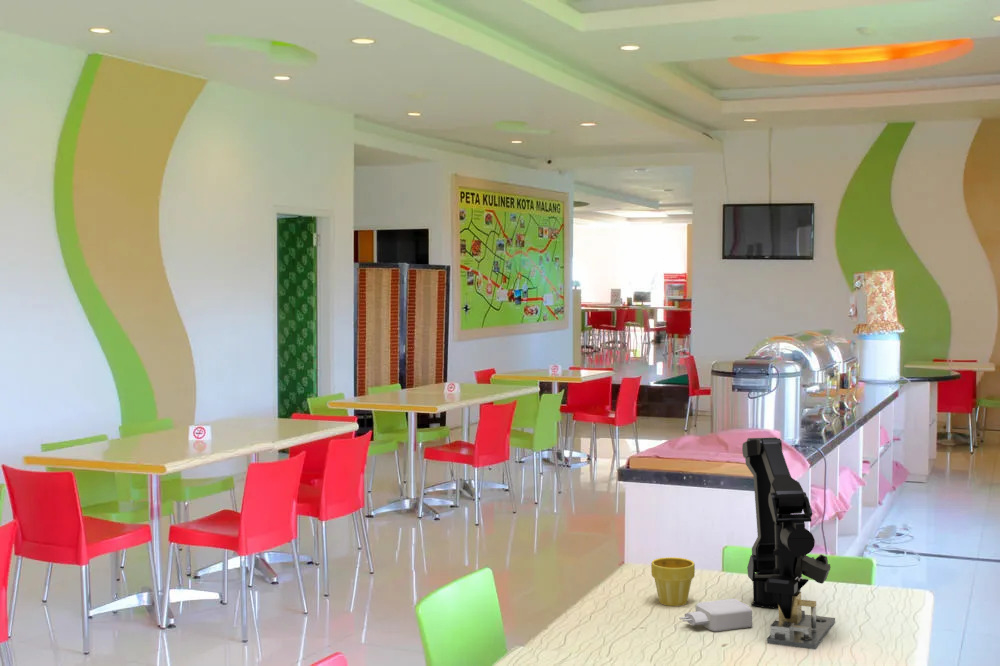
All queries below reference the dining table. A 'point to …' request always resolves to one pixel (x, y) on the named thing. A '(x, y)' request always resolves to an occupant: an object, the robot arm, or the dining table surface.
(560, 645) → the dining table surface
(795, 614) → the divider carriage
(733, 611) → the charger
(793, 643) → the dividers base
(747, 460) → the robot arm
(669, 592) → the plant pot
